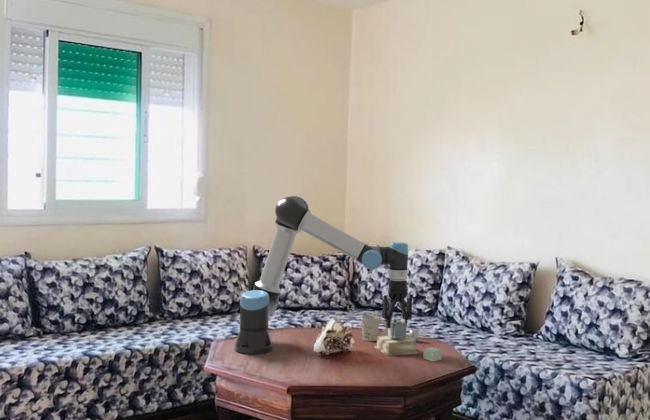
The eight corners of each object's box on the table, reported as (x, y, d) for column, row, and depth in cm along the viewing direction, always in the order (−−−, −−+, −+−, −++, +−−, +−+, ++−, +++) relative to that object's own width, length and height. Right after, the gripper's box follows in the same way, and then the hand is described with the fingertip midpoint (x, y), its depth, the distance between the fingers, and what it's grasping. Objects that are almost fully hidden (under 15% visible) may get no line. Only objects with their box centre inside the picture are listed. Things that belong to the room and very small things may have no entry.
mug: (357, 337, 296) (358, 315, 296) (383, 336, 300) (384, 314, 299) (364, 342, 288) (364, 319, 288) (390, 341, 292) (391, 318, 291)
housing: (394, 338, 271) (395, 322, 270) (386, 334, 278) (387, 318, 278) (405, 337, 272) (406, 321, 272) (397, 333, 280) (398, 317, 279)
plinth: (374, 347, 280) (374, 335, 279) (403, 345, 284) (403, 334, 284) (387, 355, 267) (388, 343, 266) (417, 353, 271) (418, 341, 271)
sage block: (423, 358, 265) (423, 348, 264) (431, 357, 268) (432, 347, 268) (432, 361, 261) (433, 351, 261) (441, 359, 264) (441, 349, 264)
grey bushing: (407, 340, 294) (407, 329, 294) (415, 340, 295) (415, 329, 295) (411, 342, 290) (412, 331, 290) (419, 342, 291) (420, 331, 291)
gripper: (381, 281, 267) (380, 338, 269) (421, 280, 274) (419, 336, 275) (374, 278, 275) (372, 334, 276) (413, 277, 281) (411, 332, 282)
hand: (396, 335), depth 275 cm, fingers closed on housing, 5 cm apart
